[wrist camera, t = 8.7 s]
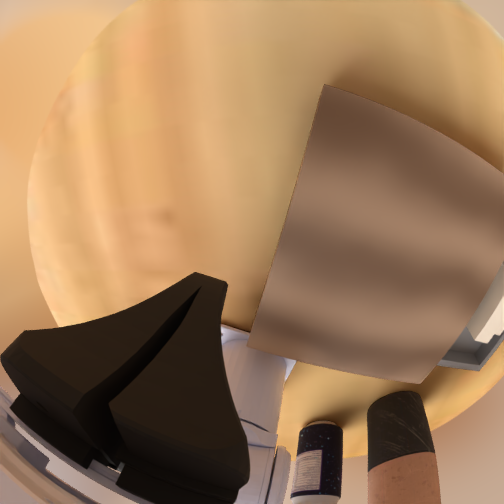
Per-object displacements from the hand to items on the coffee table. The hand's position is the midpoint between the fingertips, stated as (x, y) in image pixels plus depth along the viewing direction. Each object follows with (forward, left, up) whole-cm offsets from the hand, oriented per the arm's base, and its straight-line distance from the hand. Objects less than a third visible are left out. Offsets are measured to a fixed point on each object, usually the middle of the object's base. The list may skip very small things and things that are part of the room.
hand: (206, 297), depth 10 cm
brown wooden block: (+1, -10, -10) cm, 15 cm away
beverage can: (-24, -15, -11) cm, 31 cm away
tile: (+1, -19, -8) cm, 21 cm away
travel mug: (-17, -22, -11) cm, 30 cm away
